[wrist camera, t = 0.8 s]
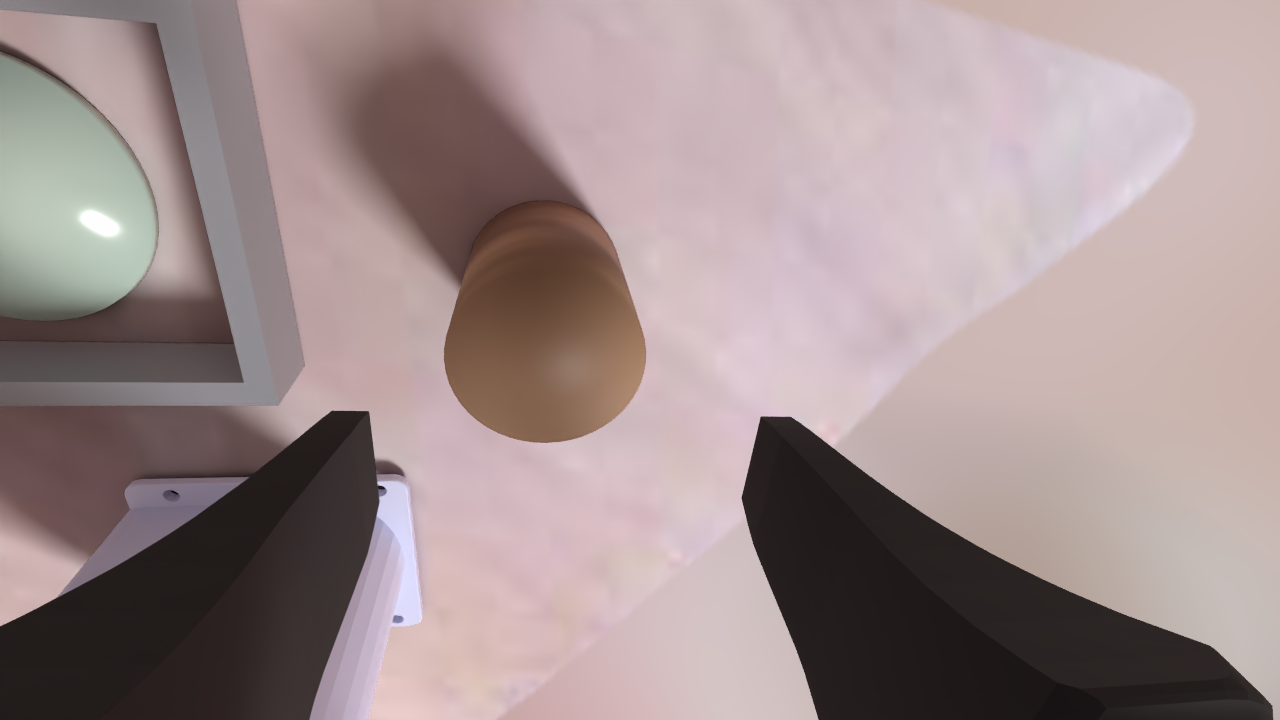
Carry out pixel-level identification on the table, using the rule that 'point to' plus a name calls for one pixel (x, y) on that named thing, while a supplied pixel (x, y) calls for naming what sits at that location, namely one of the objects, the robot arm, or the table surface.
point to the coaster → (66, 202)
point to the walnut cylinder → (544, 326)
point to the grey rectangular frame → (236, 225)
